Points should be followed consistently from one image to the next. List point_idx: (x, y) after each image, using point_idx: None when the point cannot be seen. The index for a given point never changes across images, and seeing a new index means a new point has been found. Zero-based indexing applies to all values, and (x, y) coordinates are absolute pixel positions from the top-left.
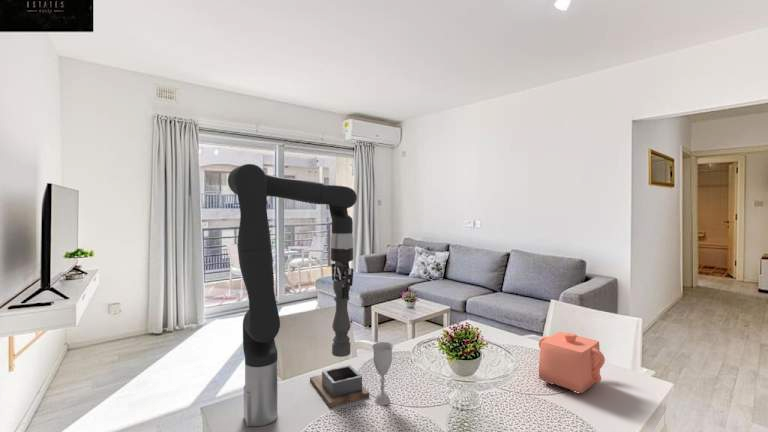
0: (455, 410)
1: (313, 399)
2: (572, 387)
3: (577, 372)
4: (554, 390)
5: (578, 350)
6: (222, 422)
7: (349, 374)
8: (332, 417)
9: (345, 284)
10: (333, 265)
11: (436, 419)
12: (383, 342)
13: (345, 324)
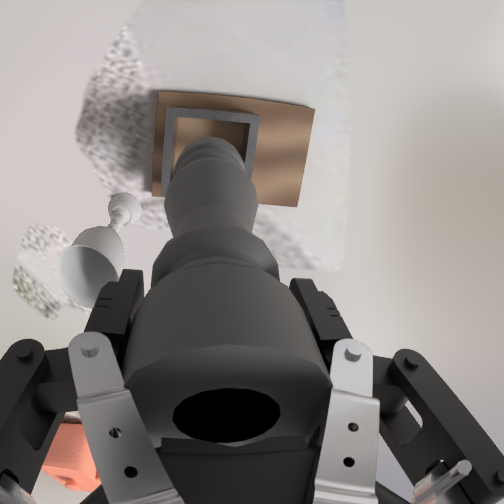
0: (48, 299)
1: (218, 73)
2: None
3: None
4: (68, 416)
5: (42, 466)
6: None
7: None
8: (119, 82)
9: (4, 356)
10: (478, 491)
11: (33, 258)
12: None
13: (165, 210)
